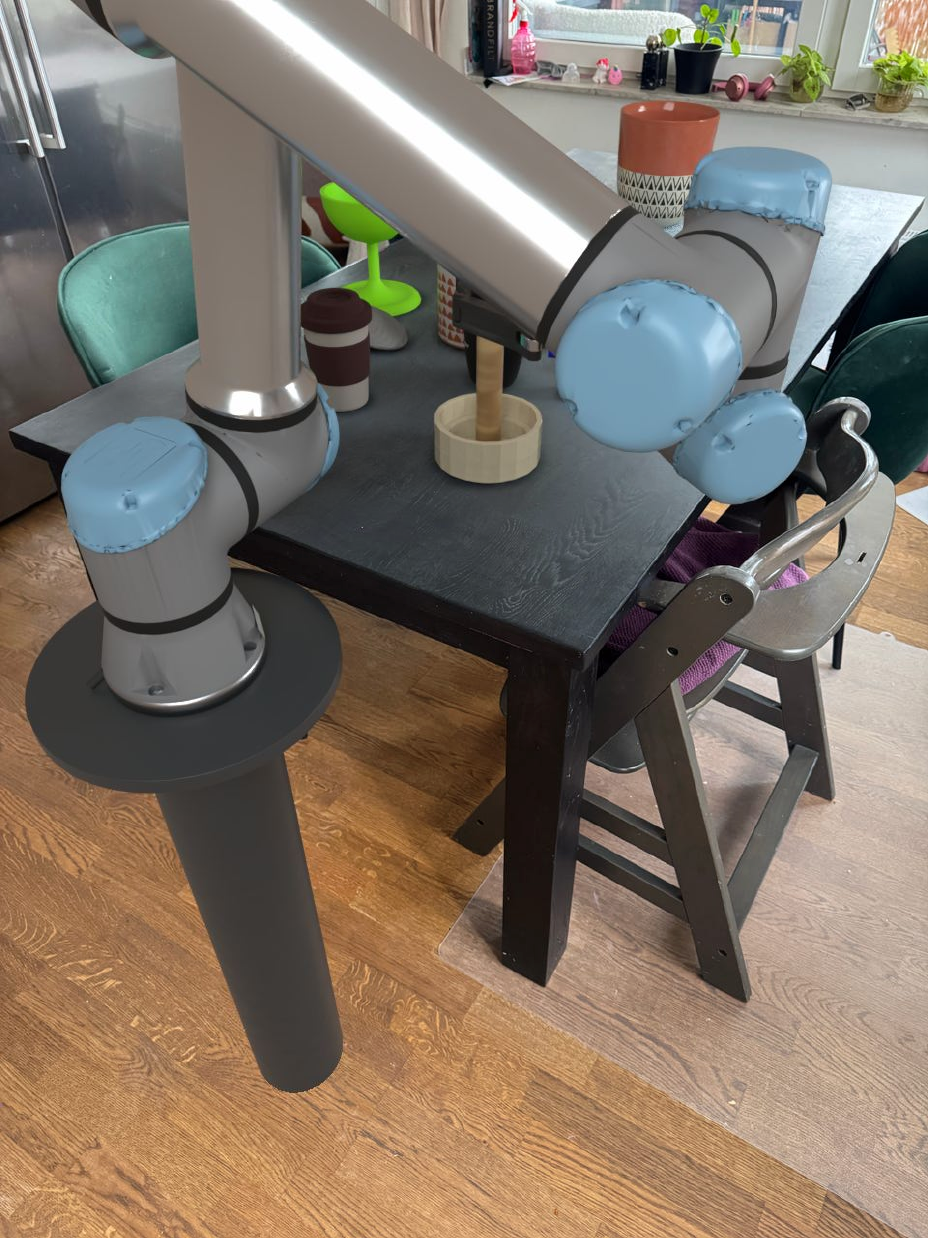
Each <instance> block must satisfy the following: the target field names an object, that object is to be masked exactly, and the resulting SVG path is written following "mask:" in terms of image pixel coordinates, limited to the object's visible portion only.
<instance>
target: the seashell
mask: <svg viewBox="0 0 928 1238" xmlns="http://www.w3.org/2000/svg"><path fill="white" fill-rule="evenodd" d="M371 307H372V321H371V322H370V323H369V324H368V330H369V332H370V348H372V349H375V350H379V351H380V350H382V351H395V350H399V349H402V348H403V347H405V346H406V344H407V343H408V333H407V331H406V329H405V327H404V325H403V324H402V323H400V321H399V320H397V318H395V316H391V315H390V314H388V313H387V312H385V311H383V310H381V309H379V308H376V307H374V306H371Z"/></svg>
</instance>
